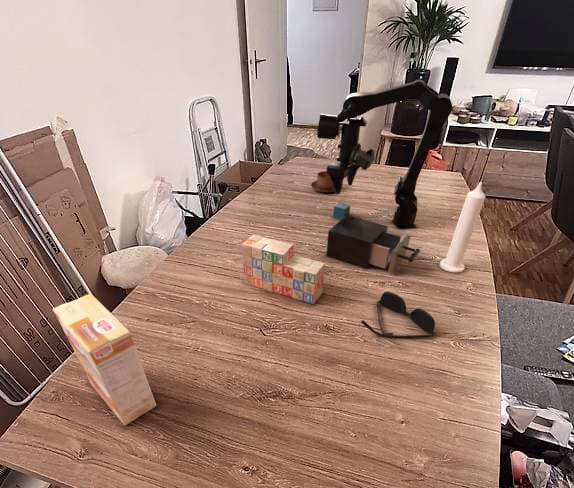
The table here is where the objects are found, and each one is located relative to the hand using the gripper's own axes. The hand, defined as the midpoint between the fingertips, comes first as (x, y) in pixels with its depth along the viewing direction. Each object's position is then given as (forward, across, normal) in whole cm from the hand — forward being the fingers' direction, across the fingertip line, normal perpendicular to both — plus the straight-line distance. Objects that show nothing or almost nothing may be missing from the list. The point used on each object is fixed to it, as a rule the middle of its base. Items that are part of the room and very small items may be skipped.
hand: (344, 189), depth 130 cm
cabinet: (+10, -21, -15) cm, 28 cm away
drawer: (+9, -22, -25) cm, 35 cm away
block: (+10, 0, 0) cm, 10 cm away
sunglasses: (+10, -50, -38) cm, 63 cm away
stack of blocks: (+10, -50, -6) cm, 51 cm away
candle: (+10, -13, -43) cm, 46 cm away
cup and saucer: (+10, +21, +18) cm, 29 cm away
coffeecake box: (+10, -98, +1) cm, 99 cm away
